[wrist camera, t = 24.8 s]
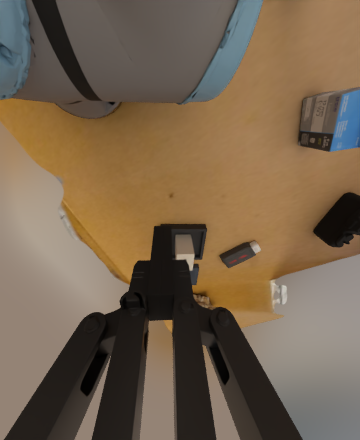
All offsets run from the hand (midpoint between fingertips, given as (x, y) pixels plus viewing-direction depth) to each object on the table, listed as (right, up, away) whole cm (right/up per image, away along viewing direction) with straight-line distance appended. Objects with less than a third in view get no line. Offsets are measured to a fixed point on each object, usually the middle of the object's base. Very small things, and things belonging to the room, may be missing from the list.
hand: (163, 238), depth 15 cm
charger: (+2, -5, +34) cm, 34 cm away
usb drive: (+21, -9, +39) cm, 45 cm away
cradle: (+2, -4, +34) cm, 35 cm away
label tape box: (+29, +23, +19) cm, 41 cm away
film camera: (+48, +3, +33) cm, 59 cm away
